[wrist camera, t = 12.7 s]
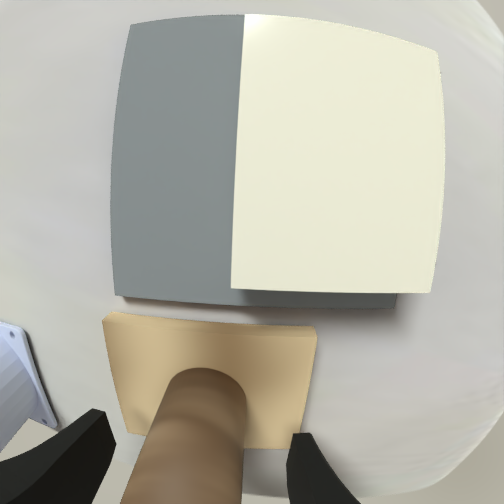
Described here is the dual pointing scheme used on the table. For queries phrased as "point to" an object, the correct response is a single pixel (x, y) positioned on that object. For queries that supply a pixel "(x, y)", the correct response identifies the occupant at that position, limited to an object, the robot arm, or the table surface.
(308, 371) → the board
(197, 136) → the mat
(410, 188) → the tile
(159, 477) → the dowel
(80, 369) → the table surface
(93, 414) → the robot arm
